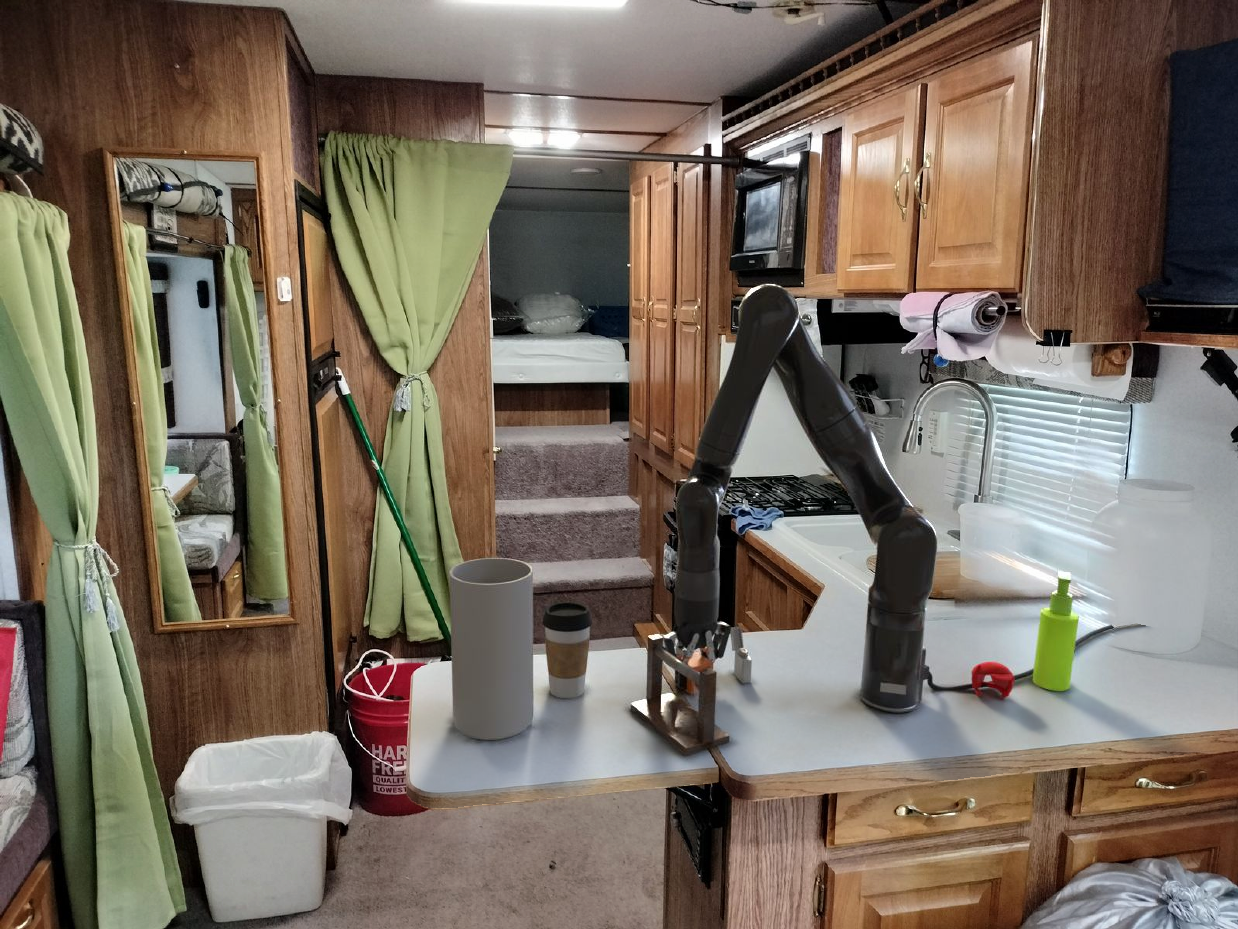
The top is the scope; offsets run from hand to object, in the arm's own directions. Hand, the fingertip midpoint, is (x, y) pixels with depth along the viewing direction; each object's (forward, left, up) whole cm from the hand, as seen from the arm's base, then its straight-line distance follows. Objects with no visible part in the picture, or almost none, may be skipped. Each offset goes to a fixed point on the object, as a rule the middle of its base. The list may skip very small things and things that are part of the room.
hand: (693, 684), depth 147 cm
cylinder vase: (+35, -5, 0) cm, 35 cm away
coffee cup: (+20, -9, 0) cm, 22 cm away
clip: (0, 0, 0) cm, 0 cm away
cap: (-43, +27, 0) cm, 51 cm away
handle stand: (+10, +10, 0) cm, 14 cm away
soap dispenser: (-57, +29, 0) cm, 64 cm away
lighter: (-10, 0, 0) cm, 10 cm away
